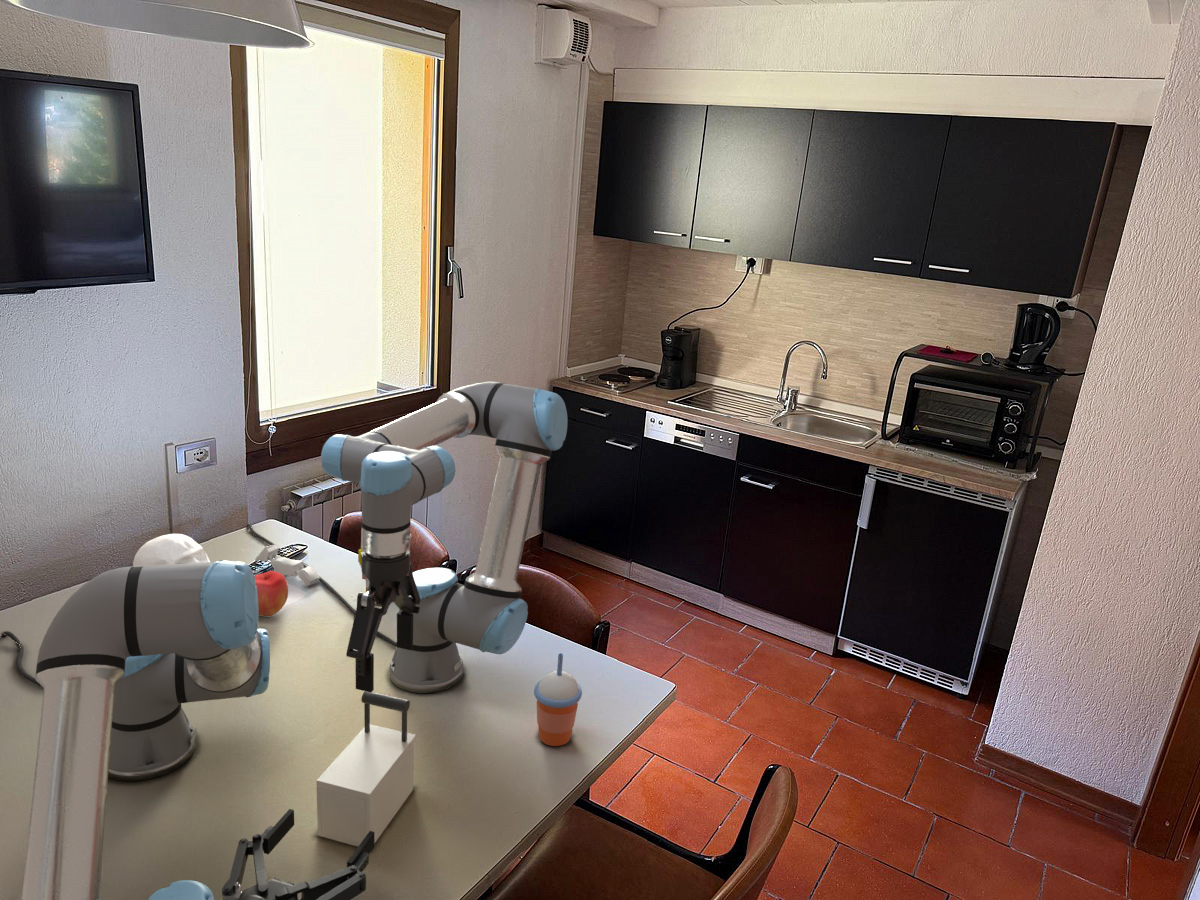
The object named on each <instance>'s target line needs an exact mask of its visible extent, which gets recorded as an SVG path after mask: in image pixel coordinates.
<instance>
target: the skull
mask: <svg viewBox="0 0 1200 900" xmlns="http://www.w3.org/2000/svg"><path fill="white" fill-rule="evenodd" d="M205 562H211V560H210V558H209V555H208V554H207V552H206V551H205V548H204V547H202V546H201V545H200V544H199V543H198V542H197V541H195V540H194V539H193V538H192V537H190V536H188V535H186V534H182V533H168V534H163V535H160V536H157V537H154V538H152V539H150V540H148V541H146V542H145V543H144V544H143V545H142V546H141V547H140V548H139V549H138V550H137V552H136V553H135V554H134V558H133V561H132V567H142V566H157V565H173V564H189V563H205Z"/></svg>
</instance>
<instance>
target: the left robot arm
mask: <svg viewBox="0 0 1200 900" xmlns="http://www.w3.org/2000/svg"><path fill="white" fill-rule="evenodd" d="M254 576H255V574H254V572H253V570H252V568H251V567H250V565H249V564H248V563H247V562H244V561H240V560H227V559H219V560H216V561H210V562H205V563H189V564H173V565H157V566H142V567H133V566H123V567H117V568H113V569H109V570H107V571H104V572H102V573H100V574H98V575H96V576H94V577H93V578H91V579H90V580H88V581H86V582H85V583H84V584H82V585H81V586H80V587H79V588H78V589H77V590H76V591H75V592H74V593H73V594H72V595H70V597H68V599H67V600H66V601H65V603H64V604H63V605H62V606H61V608H60V609H59V610H58V611H57V613H56V614H55V616H54V618H53V619H52V621H51V622H50V624H49V626H48V628H47V630H46V632H45V634H44V636H43V638H42V642H41V643H40V647H39V649H38V655H37V659H36V667H35V677H34V676H32V675H30V674H29V673H28V672H27V671H26V670H25V669H24V667H23V665H22V660H23V657H24V652H25V648H24V646H23V644H22V643H21V644H20V642H21V640H20V639H19V638H18V637H17V636H16V634H14V633H12V632H11V631H7V630H5V631H4V632H3V633H4V634H6V635H4V634H3V633H2V634H1V637H3V638H5V637H8V638H10V639H11V640H12V641H13V640H14V641H15V642H17V643H18V644H17V643H15V642H14V641H13V642H14V643H15V645H16V648H17V649H18V653H17V657H16V660H15V667H16V670H17V671H18V673H19V674H20V675H21V676H22V677H23V678H24V679H25V680H27V681H29V682H30V683H33V684H35V685H37V686H40V687H42V688H43V693H42V704H41V713H40V721H39V732H38V741H37V750H36V759H35V769H34V778H33V788H32V796H31V807H30V814H29V815H30V816H29V824H28V825H29V826H28V835H27V844H26V852H25V853H26V854H25V863H24V871H23V883H22V892H21V900H100V890H101V880H102V879H101V877H102V863H103V849H104V836H105V824H106V823H105V822H106V811H107V797H108V795H107V794H108V784H109V783H108V781H109V778H110V779H113V780H117V781H123V782H137V781H138V782H139V781H140V782H141V781H146V780H151V779H155V778H158V777H161V776H164V775H166V774H168V773H170V772H172V771H174V770H176V769H178V768H179V767H181V766H182V765H183V764H185V763H186V762H188V760H189V759H190V758H191V757H192V756H193V754H194V753H195V750H196V746H197V745H196V744H197V742H196V741H197V740H196V736H197V734H198V733H197V728H195V729H194V728H193V726H192V725H191V723H190V721H189V718H188V716H187V715H186V713H185V711H184V709H183V706H182V704H188V703H196V702H204V701H215V700H225V699H235V698H244V697H245V698H251V697H252V696H257V695H262V694H264V693H265V692H266V691H267V689H268V688H269V683H270V669H271V642H270V635H269V631H268V630H267V629H265V628H258V627H259V616H260V615H259V608H258V593H257V587H256V586H255V577H254ZM19 644H20V646H19ZM21 645H22V646H21ZM20 647H21V648H20ZM294 826H295V809H291V808H288V810H287V811H286V812H285V814H284V815H282V817H280V819H279V820H278V821H277V822H276V823H275V824H274V826H273V825H270V826H267V828H265V830H264V831H263V832H262V833H261V834H260V833H256V834H253V835H252V837H251V839H252V840H249V839H247V838H245V837H244V838H241V839H239V841H238V844H237V848H236V850H235V851H236V852H235V856H234V858H233V859H234V860H233V863H232V866H231V871H230V875H229V878H228V880H227V881H226V882H225V884H224V885H223V886H222V888H221V896H222V897H221V898H222V900H353V899H355V898H356V897H358V896H359V895H361V894H362V893H364V892H365V891H366V890H367V873H366V872H365V869H366V868H367V866H368V865H369V862H370V854H371V853H372V851H373V850H374V848H375V844H374V832H373V831H369V833H368V834H367V835H366V837H365V838H364V839H363V841H362V842H361V844H360V845H359V846H357V848H356V849H355V850H354V852H353V853H352V854H351V856H350V857H349V858H348V860H347V861H346V867H344V868H341V869H339V870H336V871H334V872H332V873H329V874H327V875H324V876H321V877H318V878H315V879H314V880H311V881H308V882H307V881H301V882H298V883H296V884H295V882H291V881H284V880H282V879H281V878H278V877H273V878H270V879H268V877H267V871H266V866H265V857H264V854H265V855H269V854H270V853H271V852H272V851H273V850H274V849H275V848H276V847H277V845H278V844H279V843H280V842H281V841H282V840H283V838H285V837H286V835H287V834H288V833H289V832H290V830H291V829H292V828H294ZM249 856H252V857H253V866H254V874H255V875H254V876H255V882H256V884H255V885H253V886H251V887H248V888H246V889H244V890H243V891H242V884H243V879H244V875H245V872H246V871H245V870H246V867H247V863H248V858H249ZM298 894H300V896H301V897H300V899H299V896H298ZM147 900H215V896H214V894H213V892H212V890H211V888H210V887H208V886H207V885H206V884H205V883H203V882H201V881H198V880H194V879H182V880H176V881H173V882H170V884H169V885H168V886H166V887H164V888H163V887H161V888H159V889H157V890H156V891H154V892H153V893H152V894H151V895H150V896H149V898H148V899H147Z"/></svg>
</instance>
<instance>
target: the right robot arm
mask: <svg viewBox="0 0 1200 900" xmlns="http://www.w3.org/2000/svg"><path fill="white" fill-rule="evenodd" d="M567 432H568V411H567V407H566V403H565V401H564V399H563V398H562V396H560V395H559V394H558V393H556V392H553V391H549V390H546V389H543V388H537V387H536V388H535V387H529V386H523V385H516V384H510V383H504V382H499V381H483V382H476V383H472V384H468V385H464V386H460V387H458V388H455V389H452V390H450V391H448V392H445V393H443V394H442V395H440V396H439V397H438V398H437V400H436V402H435V403H432V404H430V405H428V406H426V407H423V408H421V409H419V410H416V411H414V412H412V413H409V414H407V415H405V416H402V417H399V418H398V419H395V420H394V421H390V422H389V423H386V424H383V425H382V426H380V427H377V428H374V429H372V430H370V431H368V432H366V433H363V434H360V435H358V436H352V435H351V434H338V433H337V434H333V435H332V436H330V437H329V438H328V439H327V440H326V441H325V443H324V444H323V446H322V450H321V453H320V458H321V460H320V461H321V462H320V463H321V468H322V469H323V471H324V472H325V474H326V475H327V476H330V477H332V478H335V479H339V480H341V481H343V482H351V483H355V484H359V486H360V502H361V503H360V505H361V520H360V521H361V525H360V526H361V528H360V530H361V531H360V549H362V550H363V551H362V553H361V565H360V569H361V574H362V573H363V575H364V576H365V577H366V578H367V579H368V580H369V582H370V583H369V588H368V592H367V593H366V592H362V591H360V592H358V594H357V595H356V596H357V598H356V609H355V608H354V607H353V606H351V604H350V603H348V601H347V600H346V599H344V598H343V597H342V596H341V594H340V593H339V592H337V591H336V590H335V589H334V588H333V587H332V586H331V584H329V583H328V582H327V581H325V580H324V579H323V578H322V577H320V579H319V580H318V582H320V583H321V584H322V585H323V586H324V587H325V588H326V589H328V590H329V591H330V592H331V593H332V594H333V595H334V596H335V597H336V599H338V600H339V601H340V602H341V603H342V604H343V605H344V606H345V607H346V608H347V609H348V610H349V612H351V613H352V614H353V615H354V618H353V623H352V626H351V631H350V636H349V640H348V643H347V649H346V654H345V655H346V657H347V658H352V659H355V690H359V691H362V692H364V691H367V692H374V690H375V688H374V685H375V684H374V683H375V680H374V678H375V677H374V675H375V674H374V673H375V672H374V670H375V668H374V667H375V666H374V665H375V664H374V661H375V659H374V658H375V657H374V655H375V654H374V653H372V649H373V647H374V643H375V640H376V638H377V637H379V638H381V639H382V640H384V641H386V642H387V643H389V644H390V645H392V646H394V647H396V648H395V651H394V653H393V656H392V659H391V660H390V664H389V679H390V681H391V682H392V683H393V684H394V685H395V686H396V687H398V688H399V689H401V690H404V691H407V692H410V693H416V694H430V693H431V694H432V693H438V692H441V691H445V690H447V689H450V688H451V687H453V686H455V685H456V684H457V683H458V682H459V681H460V680H461V679H462V676H463V672H464V662H463V660H462V657H461V656H460V653H459V649H458V646H457V644H459V645H462V646H466V647H469V648H472V649H476V650H479V651H480V652H482V653H491V654H495V655H503V654H505V653H507V652H509V651H510V650H511V649H512V648H513V647H514V646H515V645H516V643H517V642H518V640H519V639H520V637H521V635H522V633H523V631H524V629H525V626H526V623H527V620H528V615H529V610H528V609H529V607H528V603H527V602H526V600H524V599H523V598H521V597H522V593H523V588H522V587H521V585H520V584H519V582H518V575H519V570H520V566H521V561H522V557H523V552H524V547H525V542H526V538H527V533H528V528H529V523H530V520H531V514H532V510H533V505H534V501H535V496H536V491H537V487H538V483H539V478H540V473H541V468H542V465H543V464H544V463H546V462H548V461H549V460H550V459H551V457H552V452H553V451H558V450H560V449H561V448H562V447H563V445H564V442H565V441H566V438H567ZM471 435H472V436H481V437H487V438H492V439H496V440H495V443H494V448H495V450H496V451H497V452H496V453H498V456H499V461H498V465H497V470H496V473H495V474H496V475H495V478H494V484H493V488H492V492H491V496H490V497H491V498H490V502H489V506H488V511H487V516H486V520H485V524H484V529H483V530H484V531H483V534H482V537H481V538H482V539H481V542H480V548H479V551H478V557H477V560H476V561H477V562H476V566H475V570H474V572H473V573H471V574H469V576H467V577H466V578H465V581H464V584H462V583H458V580H459V579H458V575H457V573H456V572H455V571H454V570H452V569H450V568H446V567H428V568H421V569H418V570H416V571H413V563H412V562H411V550H410V548H411V541H412V539H413V535H412V534H411V515H412V506H414V505H416V504H418V503H419V502H421V501H422V500H425V499H427V498H429V497H432V496H433V495H435V494H439V493H440V492H442V490H443V489H444V488H446V487H448V486H449V485H451V483H452V482H453V480H454V478H455V476H456V464H455V461H454V458H453V456H452V455H451V454H450V452H449V451H447V449H445V448H443V447H442V446H438V445H440V444H443V443H444V442H447V441H448V440H450V439H452V438H453V439H454V438H455V439H463V438H465V437H468V436H471ZM245 527H246V528H248V529H249V531H250V533H251V534H252V535H253V536H255V538H258V539H259V540H261V541H263V542H264V543H266V544H267V545H268V546H271V545H276V544H275V543H273V542H272V541H271V540H268V539H267V538H266V537H264V536H262V535H261V534H259V533H257V532H256V531H255V530H254V528H253V526H252V524H251V523H247V524H246V526H245ZM251 527H252V528H251ZM294 558H295V557H294ZM294 558H292V560H295V559H294ZM306 567H308V566H307V565H305V564H304V568H306ZM392 603H394V604H395V605H396V607H397V608H398V612H396V641H395V640H393V639H392V638H390V637H388V636H387V635H385V634H383V632H380V631H379V629H380V625H381V621H382V619H383V616H385V615H387V613H388V610H389V607H390V605H391V604H392Z"/></svg>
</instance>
